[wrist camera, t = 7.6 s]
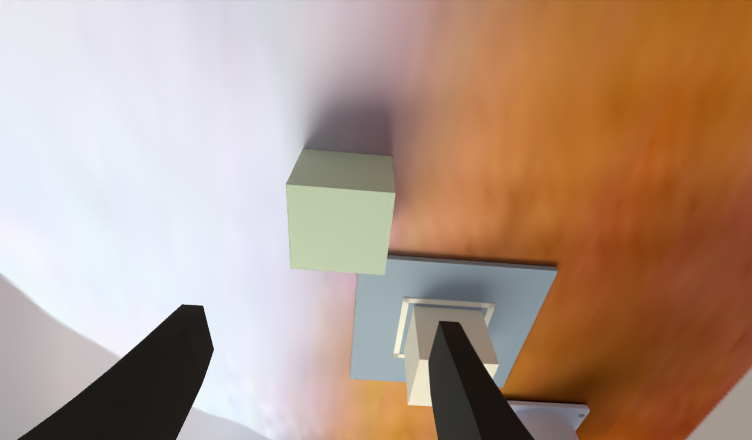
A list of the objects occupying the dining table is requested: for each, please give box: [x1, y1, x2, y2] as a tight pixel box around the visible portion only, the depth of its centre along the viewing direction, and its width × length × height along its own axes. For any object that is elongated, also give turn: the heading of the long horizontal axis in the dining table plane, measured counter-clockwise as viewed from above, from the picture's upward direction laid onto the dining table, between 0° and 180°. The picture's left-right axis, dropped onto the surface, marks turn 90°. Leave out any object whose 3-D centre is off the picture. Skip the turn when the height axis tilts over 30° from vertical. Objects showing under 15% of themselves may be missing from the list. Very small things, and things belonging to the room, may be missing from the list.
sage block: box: [286, 149, 396, 275], centre depth 17 cm, size 4×4×4 cm
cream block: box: [404, 306, 499, 406], centre depth 23 cm, size 4×4×4 cm
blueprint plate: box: [350, 255, 558, 387], centre depth 24 cm, size 12×12×1 cm
